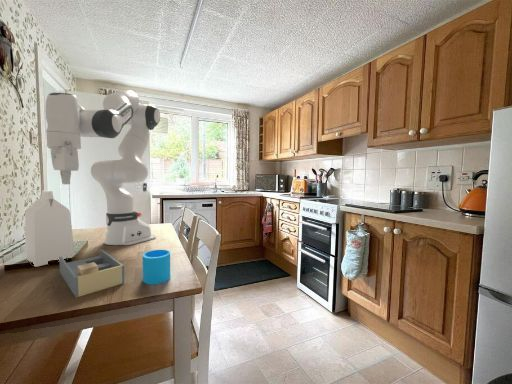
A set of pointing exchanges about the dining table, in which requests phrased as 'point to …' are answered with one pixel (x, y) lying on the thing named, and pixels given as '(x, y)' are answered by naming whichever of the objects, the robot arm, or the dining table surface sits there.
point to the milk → (47, 230)
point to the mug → (156, 266)
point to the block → (87, 268)
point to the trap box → (92, 274)
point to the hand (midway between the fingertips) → (66, 184)
